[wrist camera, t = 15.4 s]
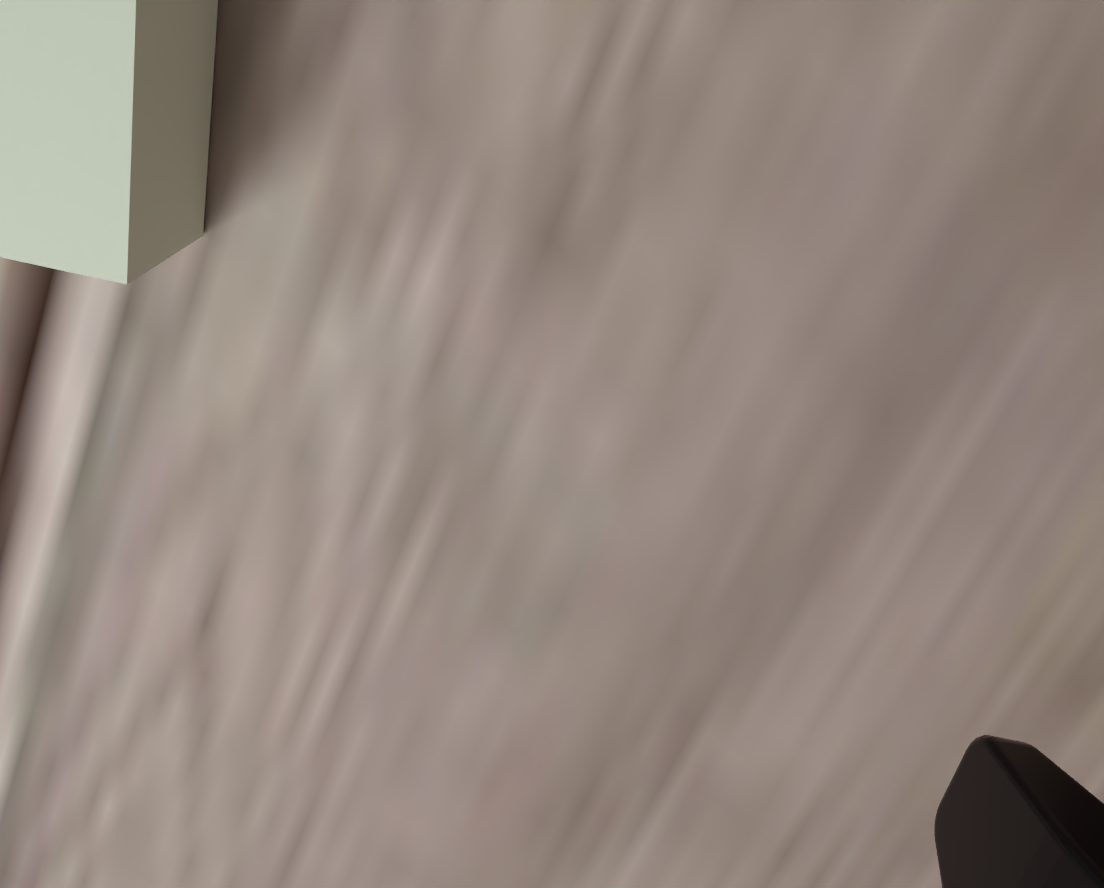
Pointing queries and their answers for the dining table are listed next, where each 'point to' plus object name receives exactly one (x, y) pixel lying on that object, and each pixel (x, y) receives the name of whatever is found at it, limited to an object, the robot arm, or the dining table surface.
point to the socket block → (104, 131)
